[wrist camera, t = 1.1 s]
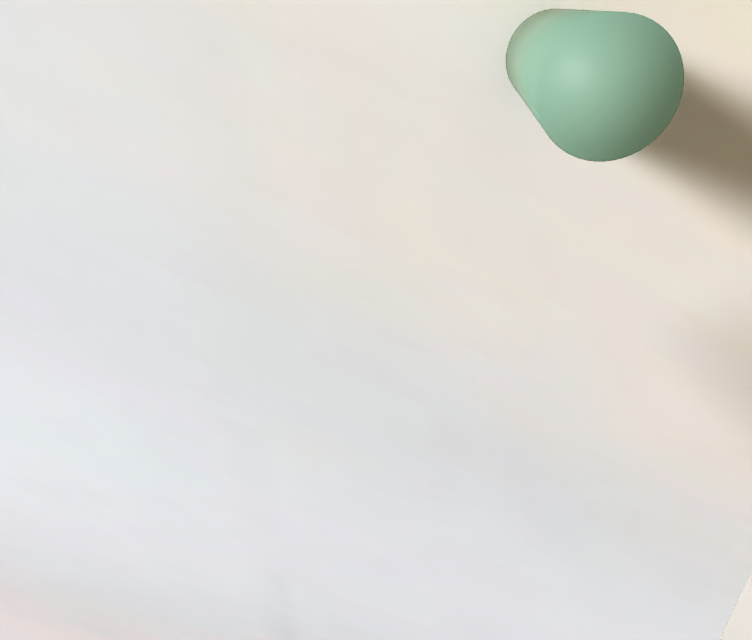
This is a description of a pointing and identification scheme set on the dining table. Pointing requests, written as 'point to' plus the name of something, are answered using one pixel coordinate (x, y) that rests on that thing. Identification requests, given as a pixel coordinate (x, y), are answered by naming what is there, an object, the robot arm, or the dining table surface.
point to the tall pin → (596, 79)
